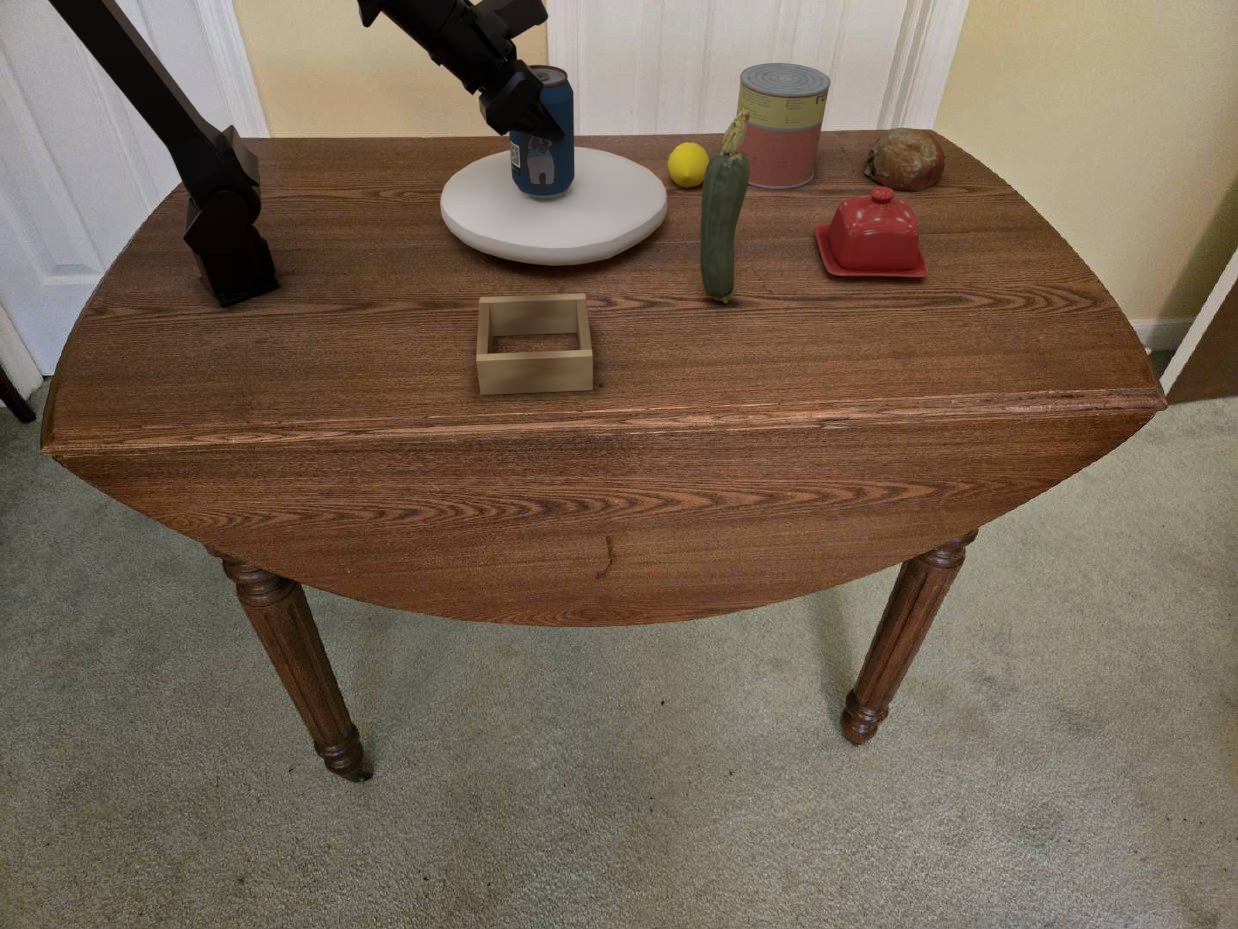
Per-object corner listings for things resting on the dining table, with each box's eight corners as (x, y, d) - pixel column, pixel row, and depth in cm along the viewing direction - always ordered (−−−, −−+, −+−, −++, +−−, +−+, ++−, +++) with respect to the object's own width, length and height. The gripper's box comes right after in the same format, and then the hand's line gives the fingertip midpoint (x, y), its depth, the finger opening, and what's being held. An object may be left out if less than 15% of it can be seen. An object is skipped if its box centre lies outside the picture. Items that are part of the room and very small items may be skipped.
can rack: (480, 395, 75) (475, 360, 72) (483, 331, 83) (479, 296, 80) (593, 390, 76) (592, 355, 73) (586, 326, 83) (585, 293, 81)
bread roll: (856, 187, 116) (845, 139, 110) (922, 149, 115) (914, 98, 109) (893, 219, 109) (884, 169, 103) (963, 179, 108) (957, 126, 102)
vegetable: (700, 313, 86) (719, 120, 72) (686, 292, 89) (702, 102, 75) (739, 307, 86) (765, 115, 73) (725, 286, 89) (747, 98, 76)
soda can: (555, 168, 95) (552, 58, 87) (586, 191, 91) (586, 78, 83) (501, 181, 92) (493, 69, 84) (531, 206, 88) (525, 90, 80)
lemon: (707, 197, 105) (711, 156, 101) (665, 195, 105) (667, 154, 101) (707, 174, 110) (711, 133, 106) (667, 171, 110) (670, 131, 106)
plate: (484, 128, 108) (684, 149, 104) (487, 178, 112) (679, 199, 108) (398, 201, 86) (647, 231, 82) (405, 260, 90) (643, 290, 86)
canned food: (826, 184, 108) (845, 90, 100) (746, 192, 106) (758, 97, 98) (794, 150, 116) (809, 60, 108) (718, 156, 114) (728, 65, 106)
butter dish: (824, 284, 90) (840, 212, 84) (810, 233, 98) (823, 164, 93) (929, 287, 90) (952, 215, 84) (905, 236, 98) (925, 167, 92)
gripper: (514, -29, 68) (634, 97, 78) (472, -75, 81) (580, 37, 91) (432, 78, 72) (557, 185, 82) (404, 17, 84) (515, 116, 95)
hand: (553, 125), depth 87 cm, fingers closed on soda can, 7 cm apart
